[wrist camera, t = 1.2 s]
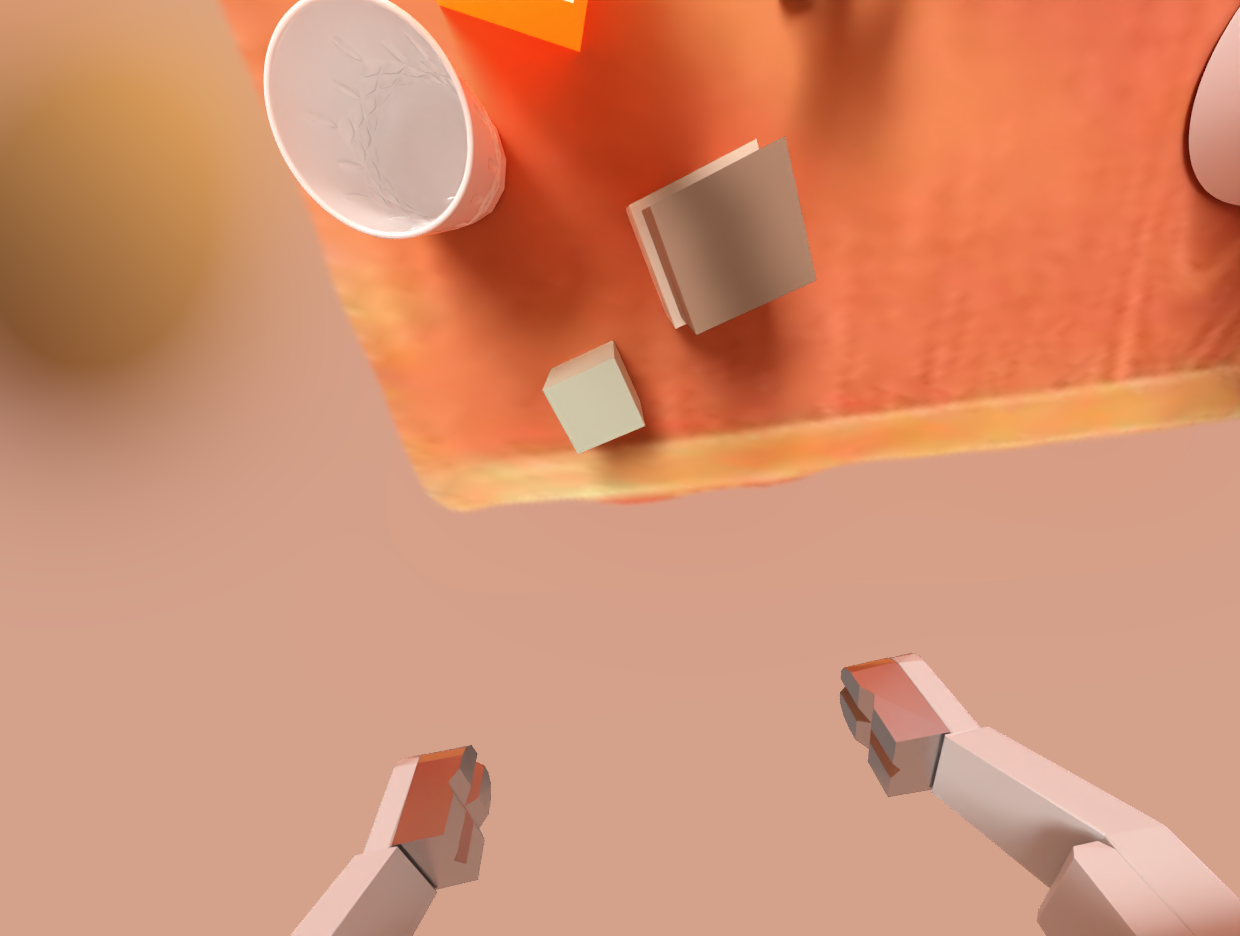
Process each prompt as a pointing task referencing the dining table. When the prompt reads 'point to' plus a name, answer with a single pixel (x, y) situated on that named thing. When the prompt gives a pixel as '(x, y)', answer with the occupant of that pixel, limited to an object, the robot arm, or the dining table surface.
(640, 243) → the birch block
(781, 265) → the walnut block
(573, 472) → the dining table surface
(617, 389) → the green cube
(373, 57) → the white cup
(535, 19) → the orange juice
